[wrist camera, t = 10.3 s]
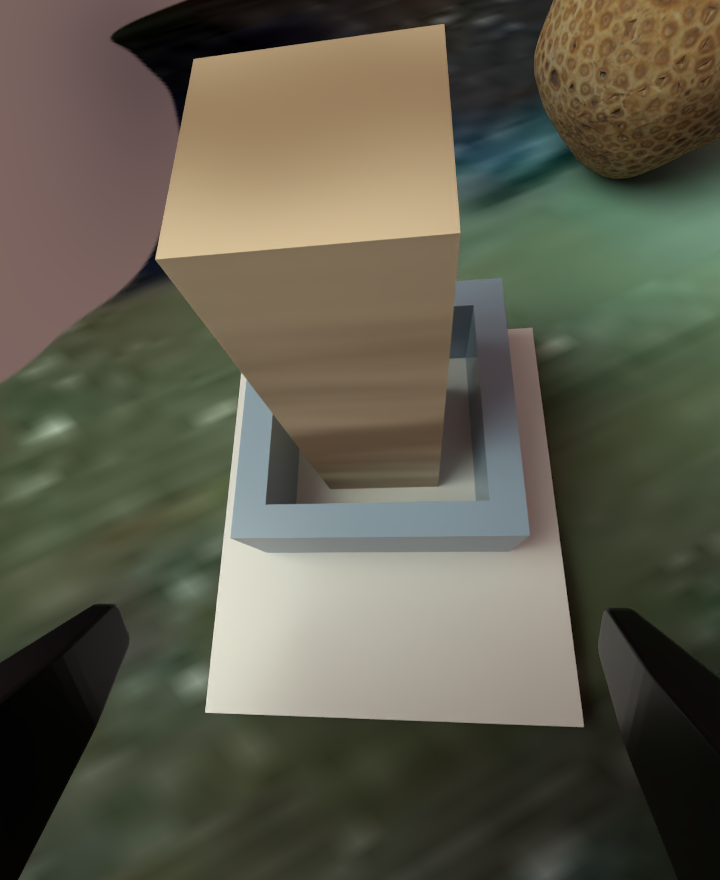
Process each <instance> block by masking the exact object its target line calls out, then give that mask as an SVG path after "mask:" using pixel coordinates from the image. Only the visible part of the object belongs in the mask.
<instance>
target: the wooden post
mask: <svg viewBox="0 0 720 880" xmlns="http://www.w3.org/2000/svg"><path fill="white" fill-rule="evenodd" d="M459 243H460V221H459V208H458V195H457V183H456V170H455V157H454V144H453V131H452V118H451V106H450V93H449V80H448V67H447V54H446V41H445V29H444V24H440V25H433V26H426V27H419V28H412V29H405V30H398V31H391V32H384V33H376V34H369V35H362V36H355V37H348V38H341V39H334V40H327V41H320V42H312V43H305V44H298V45H291V46H284V47H277V48H270V49H263V50H256V51H248V52H241V53H234V54H227V55H220V56H213V57H206V58H199V59H194V61H193V66H192V71H191V77H190V82H189V87H188V92H187V97H186V103H185V108H184V113H183V118H182V124H181V129H180V134H179V139H178V144H177V150H176V155H175V161H174V165H173V170H172V176H171V181H170V186H169V191H168V197H167V202H166V207H165V212H164V217H163V223H162V228H161V233H160V238H159V243H158V249H157V254H156V259H155V260H156V261H157V262H158V264H159V265H160V266H161V267H162V269H163V270H164V271H165V273H166V274H167V275H168V277H169V278H170V279H171V281H172V282H173V283H174V285H175V286H176V287H177V289H178V290H179V291H180V292H181V294H182V295H183V296H184V298H185V299H186V300H187V302H188V303H189V304H190V306H191V307H192V308H193V310H194V311H195V312H196V313H197V315H198V316H199V317H200V319H201V320H202V321H203V323H204V324H205V325H206V327H207V328H208V329H209V331H210V332H211V333H212V335H213V336H214V337H215V338H216V340H217V341H218V342H219V344H220V345H221V346H222V348H223V349H224V350H225V352H226V353H227V354H228V356H229V357H230V358H231V360H232V361H233V362H234V363H235V365H236V366H237V367H238V369H239V370H240V371H241V373H242V374H243V375H244V377H245V378H246V379H247V381H248V382H249V383H250V384H251V386H252V387H253V388H254V390H255V391H256V392H257V394H258V395H259V396H260V398H261V399H262V400H263V402H264V403H265V404H266V406H267V407H268V408H269V409H270V411H271V412H272V413H273V415H274V416H275V417H276V419H277V420H278V421H279V423H280V424H281V425H282V427H283V428H284V429H285V431H286V432H287V433H288V434H289V436H290V437H291V438H292V440H293V441H294V442H295V444H296V445H297V446H298V448H299V449H300V450H301V452H302V453H303V454H304V455H305V457H306V458H307V459H308V461H309V462H310V463H311V465H312V466H313V467H314V469H315V470H316V471H317V473H318V474H319V475H320V477H321V478H322V479H323V480H324V482H325V483H326V484H327V486H328V487H329V488H330V489H363V488H407V487H438V480H439V469H440V458H441V446H442V435H443V424H444V412H445V401H446V390H447V379H448V367H449V356H450V345H451V334H452V322H453V311H454V300H455V288H456V277H457V266H458V255H459Z"/></svg>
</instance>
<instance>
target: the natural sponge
mask: <svg viewBox="0 0 720 880" xmlns="http://www.w3.org/2000/svg"><path fill="white" fill-rule="evenodd" d="M534 74H535V79H536V83H537V86H538V90H539V93H540V97H541V100H542V103H543V107H544V110H545V111H546V113H547V115H548V117H549V118H550V120H551V122H552V123H553V125H554V126H555V128H556V130H557V131H558V133H559V134H560V136H561V138H562V139H563V141H564V142H565V143H566V145H567V146H568V147H569V149H570V150H571V152H572V153H573V155H574V156H575V158H576V159H577V160H578V161H580V162H581V163H582V164H583V165H584V166H585V167H587V168H588V169H589V170H591V171H593V172H594V173H596V174H598V175H600V176H603V177H607V178H612V179H624V178H630V177H634V176H638V175H640V174H643V173H645V172H648V171H650V170H653V169H656V168H658V167H660V166H662V165H664V164H667V163H669V162H671V161H673V160H675V159H677V158H679V157H680V156H682V155H684V154H686V153H688V152H690V151H693V150H695V149H698V148H700V147H703V146H705V145H708V144H710V143H713V142H715V141H717V140H719V139H720V0H554V1H553V3H552V6H551V8H550V11H549V13H548V15H547V18H546V21H545V23H544V26H543V28H542V31H541V33H540V36H539V40H538V43H537V47H536V51H535V59H534Z"/></svg>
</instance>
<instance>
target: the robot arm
mask: <svg viewBox="0 0 720 880" xmlns="http://www.w3.org/2000/svg"><path fill="white" fill-rule="evenodd" d="M129 640H130V638H129V632H128V630H127V627H126V624H125V622H124V619H123V616H122V614H121V611H120V609H119V607H118V606H117V605H115V604H95V605H92V606H91V607H89V608H87V609H86V610H84V611H83V612H81V613H79V614H78V615H76V616H74V617H73V618H71V619H70V620H68V621H66V622H65V623H63V624H62V625H60V626H58V627H57V628H55V629H54V630H52V631H50V632H49V633H47V634H46V635H44V636H42V637H41V638H39V639H38V640H36V641H34V642H33V643H31V644H30V645H28V646H26V647H25V648H23V649H22V650H20V651H18V652H17V653H15V654H14V655H12V656H10V657H9V658H7V659H5V660H4V661H2V662H1V663H0V880H18V879H19V877H20V875H21V873H22V871H23V869H24V867H25V865H26V863H27V861H28V859H29V857H30V855H31V853H32V851H33V850H34V848H35V846H36V844H37V842H38V840H39V838H40V836H41V834H42V832H43V830H44V828H45V826H46V824H47V822H48V820H49V818H50V816H51V814H52V812H53V810H54V808H55V807H56V805H57V803H58V801H59V799H60V797H61V795H62V793H63V791H64V789H65V787H66V785H67V783H68V781H69V779H70V777H71V775H72V773H73V771H74V769H75V767H76V766H77V764H78V762H79V760H80V758H81V756H82V754H83V752H84V750H85V748H86V746H87V744H88V742H89V740H90V738H91V736H92V734H93V732H94V730H95V728H96V725H97V723H98V721H99V719H100V716H101V714H102V712H103V709H104V707H105V704H106V702H107V699H108V697H109V694H110V692H111V689H112V687H113V684H114V682H115V679H116V677H117V674H118V672H119V669H120V667H121V665H122V662H123V660H124V657H125V655H126V652H127V650H128V647H129ZM598 650H599V656H600V660H601V663H602V667H603V670H604V674H605V677H606V681H607V684H608V688H609V691H610V695H611V698H612V702H613V706H614V709H615V713H616V716H617V720H618V723H619V727H620V730H621V734H622V737H623V740H624V743H625V747H626V750H627V752H628V755H629V758H630V761H631V763H632V766H633V768H634V771H635V773H636V776H637V778H638V781H639V783H640V786H641V788H642V791H643V793H644V796H645V798H646V801H647V803H648V806H649V808H650V811H651V813H652V816H653V818H654V821H655V823H656V826H657V828H658V831H659V833H660V836H661V839H662V841H663V844H664V846H665V849H666V851H667V854H668V856H669V859H670V861H671V864H672V866H673V869H674V871H675V874H676V876H677V879H678V880H720V678H719V677H718V676H717V675H715V674H714V673H713V672H712V671H710V670H709V669H708V668H707V667H705V666H704V665H703V664H702V663H700V662H699V661H698V660H696V659H695V658H694V657H693V656H691V655H690V654H689V653H688V652H686V651H685V650H684V649H682V648H681V647H680V646H679V645H677V644H676V643H675V642H674V641H672V640H671V639H670V638H668V637H667V636H666V635H665V634H663V633H662V632H661V631H660V630H658V629H657V628H656V627H654V626H653V625H652V624H651V623H649V622H648V621H647V620H646V619H644V618H643V617H642V616H640V615H639V614H638V613H637V612H635V611H634V610H632V609H629V608H608V609H606V610H605V611H604V613H603V617H602V623H601V629H600V635H599V642H598Z"/></svg>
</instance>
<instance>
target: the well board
mask: <svg viewBox="0 0 720 880" xmlns="http://www.w3.org/2000/svg"><path fill="white" fill-rule="evenodd" d="M205 713H229V714H255V715H281V716H307V717H333V718H359V719H385V720H410V721H436V722H462V723H488V724H514V725H540V726H566V727H584V722H583V714H582V706H581V699H580V691H579V683H578V676H577V668H576V660H575V653H574V645H573V637H572V630H571V622H570V614H569V606H568V599H567V591H566V583H565V576H564V568H563V560H562V553H561V545H560V537H559V529H558V522H557V514H556V506H555V499H554V491H553V483H552V476H551V468H550V460H549V453H548V445H547V437H546V429H545V422H544V414H543V406H542V399H541V391H540V383H539V376H538V368H537V360H536V353H535V345H534V337H533V329H532V328H519V329H507V320H506V311H505V302H504V293H503V284H502V278H493V279H480V280H466V281H456V288H455V300H454V311H453V322H452V334H451V345H450V356H449V367H448V379H447V390H446V401H445V412H444V424H443V435H442V446H441V458H440V469H439V480H438V487H407V488H363V489H330V488H329V487H328V486H327V484H326V483H325V482H324V480H323V479H322V478H321V477H320V475H319V474H318V473H317V471H316V470H315V469H314V467H313V466H312V465H311V463H310V462H309V461H308V459H307V458H306V457H305V455H304V454H303V453H302V452H301V450H300V449H299V448H298V446H297V445H296V444H295V442H294V441H293V440H292V438H291V437H290V436H289V434H288V433H287V432H286V431H285V429H284V428H283V427H282V425H281V424H280V423H279V421H278V420H277V419H276V417H275V416H274V415H273V413H272V412H271V411H270V409H269V408H268V407H267V406H266V404H265V403H264V402H263V400H262V399H261V398H260V396H259V395H258V394H257V392H256V391H255V390H254V388H253V387H252V386H251V384H250V383H249V382H248V381H247V379H246V378H245V377H244V375H243V374H242V373H241V382H240V391H239V401H238V410H237V419H236V429H235V438H234V447H233V457H232V466H231V475H230V485H229V494H228V504H227V513H226V522H225V532H224V541H223V550H222V560H221V569H220V578H219V588H218V597H217V606H216V616H215V625H214V635H213V644H212V653H211V663H210V672H209V681H208V691H207V700H206V709H205Z"/></svg>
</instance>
